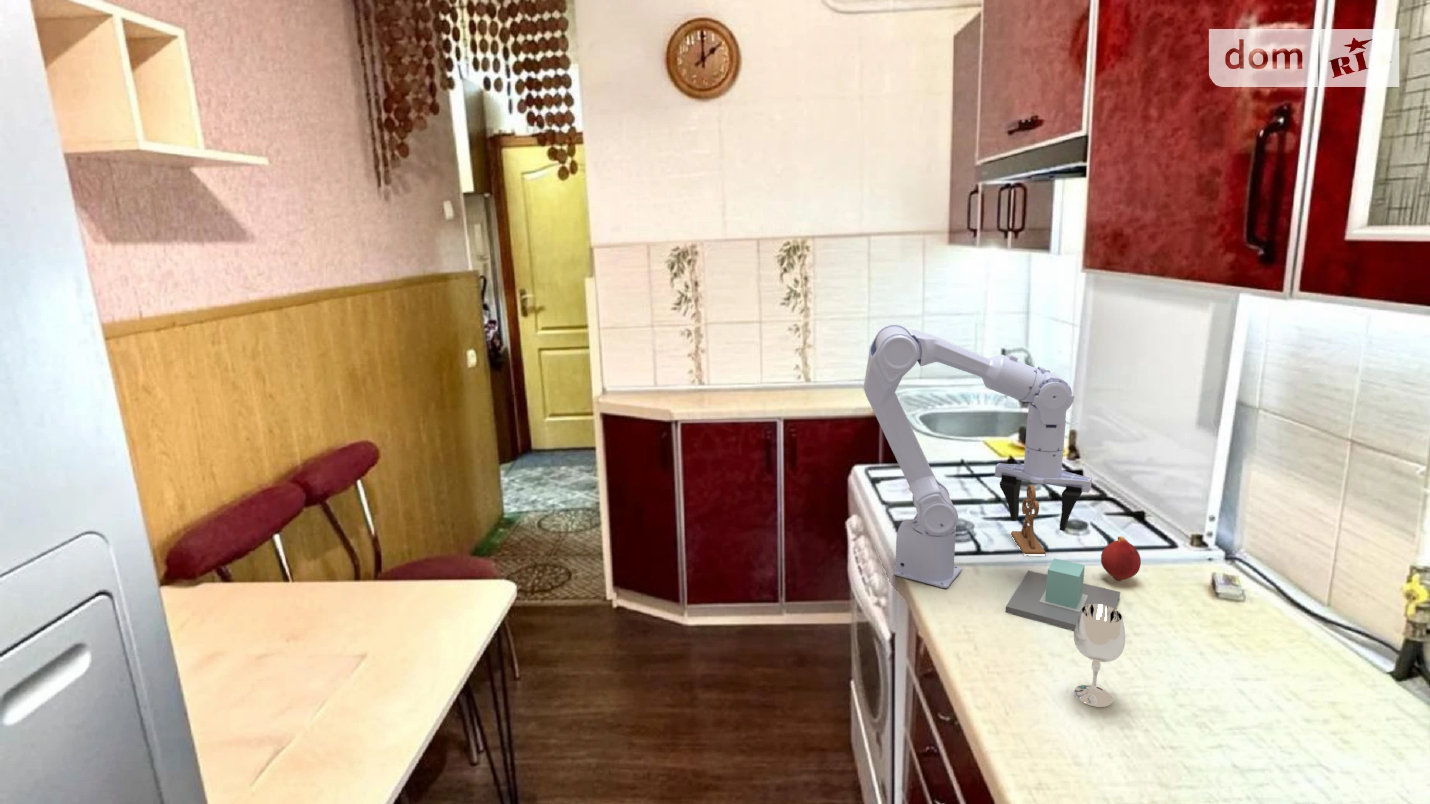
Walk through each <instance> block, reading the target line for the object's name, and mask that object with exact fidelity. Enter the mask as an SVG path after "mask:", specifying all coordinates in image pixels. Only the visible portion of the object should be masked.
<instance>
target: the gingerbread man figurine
mask: <svg viewBox="0 0 1430 804" xmlns="http://www.w3.org/2000/svg"><path fill="white" fill-rule="evenodd" d="M1036 498H1037V493H1036V487H1035V486H1034V484H1028V485H1027V488H1026V498H1023V500H1022V502H1021V503H1022V504H1021V512H1022V515H1025V518H1024V522H1023V524H1022V527H1021V530H1019V531H1018V530H1012V531H1011V532H1010V533H1011V534H1010V536H1011V535H1012V537H1013V538H1014V540H1015V542H1016V543H1017V545H1018V546H1019V547H1020V549H1021V550H1022V552H1023V553H1025V554H1045V555H1046V550H1045V549H1044V547H1043V546H1042V545H1041V543H1040V541H1039V540H1038V539H1037V537H1036V536H1035V532H1034V531H1035V530H1034V529H1035V528H1034V519H1035V518H1037V517H1038V515H1039V512H1040V503H1039V501H1038V500H1037V499H1036ZM1033 511H1034V512H1033ZM1012 537H1011V538H1012ZM1014 540H1013V541H1014ZM1015 542H1014V543H1015ZM1016 543H1015V544H1016ZM1017 545H1016V546H1017Z"/></svg>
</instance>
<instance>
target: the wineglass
mask: <svg viewBox="0 0 1430 804" xmlns="http://www.w3.org/2000/svg"><path fill="white" fill-rule="evenodd" d="M1125 630H1126V629H1125V625H1124V619H1123V615H1122V613H1121V612H1120V611H1119V610H1117V608H1116V609H1114V608H1112V607H1109V606H1106V605H1101V604H1087V605H1084V606H1083V607H1082V608H1081V610H1080V612H1079V615H1078V617H1077V620H1076V624H1075V628H1074V630H1073V641H1074V645H1075V648H1076V649H1077V650H1078V652H1079V653H1080V654H1081V655H1083V657H1085V658H1087V659H1089V660H1091V661H1092V662H1091V669H1092V683H1091V684H1081V685H1078V686H1076V687H1075V688H1074V690H1073V692H1074V693H1073V695H1074V696H1075V697H1076V699H1077V700H1078V701H1080V702H1081V703H1083V704H1086V705H1088V706H1090V707H1095V708H1105V707H1109V706H1110V705H1112V703H1113V698H1112V695H1111V694H1110V693H1109V692H1108V691H1107V690H1105V689H1103V688H1101V687H1098V686H1097V681H1098V680H1097V679H1098V674H1099V671H1100V670H1101V663H1109V662H1114V661H1115V660H1117V659H1118V658H1120V656H1121V655H1122V653H1123V652H1124V650H1125V644H1126V631H1125Z"/></svg>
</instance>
